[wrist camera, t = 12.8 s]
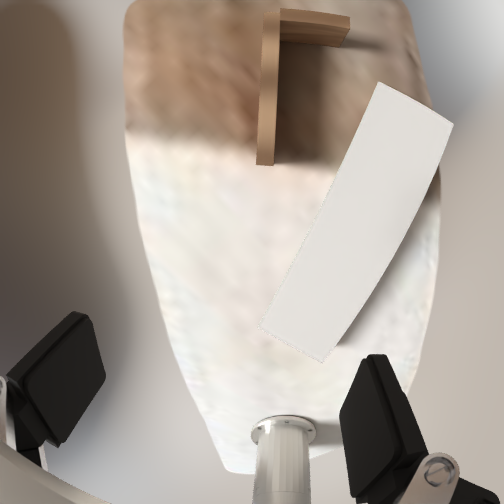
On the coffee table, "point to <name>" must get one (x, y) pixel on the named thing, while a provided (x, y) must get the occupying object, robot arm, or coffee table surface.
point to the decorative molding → (358, 223)
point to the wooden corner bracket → (275, 30)
